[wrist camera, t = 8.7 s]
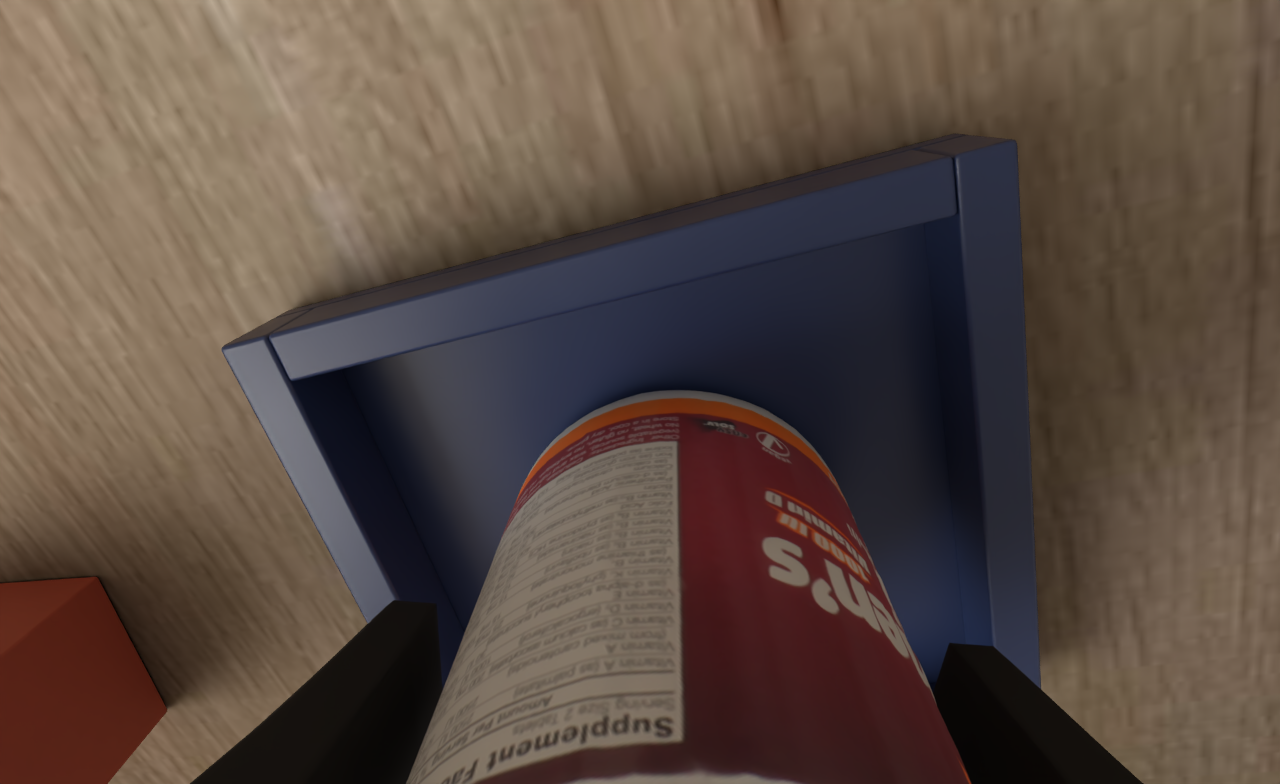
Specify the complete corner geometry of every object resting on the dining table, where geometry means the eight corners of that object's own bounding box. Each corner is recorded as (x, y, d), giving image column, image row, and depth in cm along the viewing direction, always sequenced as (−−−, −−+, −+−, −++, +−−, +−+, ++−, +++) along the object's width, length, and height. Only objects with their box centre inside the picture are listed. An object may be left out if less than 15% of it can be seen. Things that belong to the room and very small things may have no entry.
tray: (503, 757, 16) (482, 840, 14) (286, 310, 12) (218, 347, 10) (998, 679, 15) (1045, 761, 13) (956, 132, 10) (1019, 138, 9)
